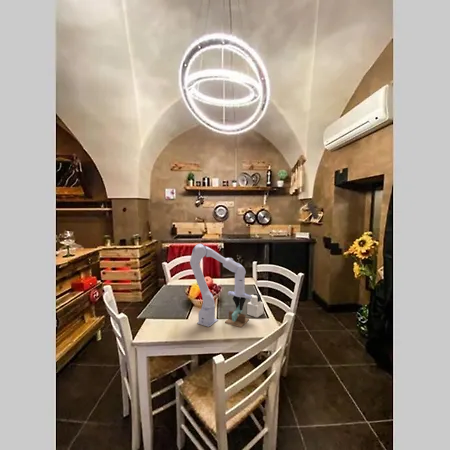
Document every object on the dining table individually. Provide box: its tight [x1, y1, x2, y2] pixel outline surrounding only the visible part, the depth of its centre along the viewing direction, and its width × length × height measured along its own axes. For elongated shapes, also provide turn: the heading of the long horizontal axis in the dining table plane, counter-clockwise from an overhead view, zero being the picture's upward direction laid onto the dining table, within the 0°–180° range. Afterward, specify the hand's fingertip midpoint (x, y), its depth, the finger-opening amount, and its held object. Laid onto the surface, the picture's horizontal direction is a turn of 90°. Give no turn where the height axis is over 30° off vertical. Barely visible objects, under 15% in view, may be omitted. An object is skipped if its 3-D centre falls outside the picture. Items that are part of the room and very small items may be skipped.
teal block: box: [232, 303, 244, 322], centre depth 144 cm, size 10×2×4 cm, turn 149°
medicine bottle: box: [246, 293, 264, 318], centre depth 153 cm, size 7×7×12 cm
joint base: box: [224, 310, 250, 328], centre depth 144 cm, size 10×10×5 cm
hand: (239, 309), depth 146 cm, fingers closed on teal block, 1 cm apart
